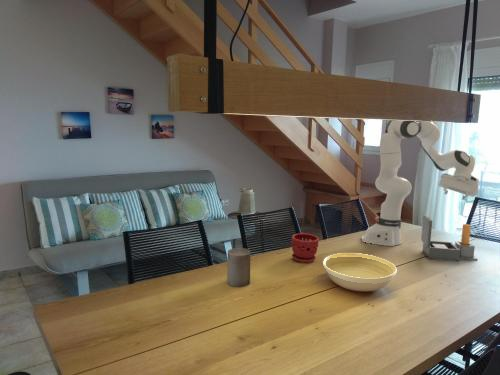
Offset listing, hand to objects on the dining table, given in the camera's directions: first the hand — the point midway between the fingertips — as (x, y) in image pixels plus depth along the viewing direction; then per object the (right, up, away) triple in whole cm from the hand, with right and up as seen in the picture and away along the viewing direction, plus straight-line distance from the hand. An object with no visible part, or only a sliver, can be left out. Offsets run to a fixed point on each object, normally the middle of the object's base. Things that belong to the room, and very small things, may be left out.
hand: (454, 196), depth 217 cm
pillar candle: (-121, -35, -56) cm, 138 cm away
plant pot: (-89, -31, -26) cm, 98 cm away
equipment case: (-16, -31, -16) cm, 38 cm away
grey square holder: (-4, -31, -17) cm, 36 cm away
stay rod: (-4, -30, -17) cm, 35 cm away
